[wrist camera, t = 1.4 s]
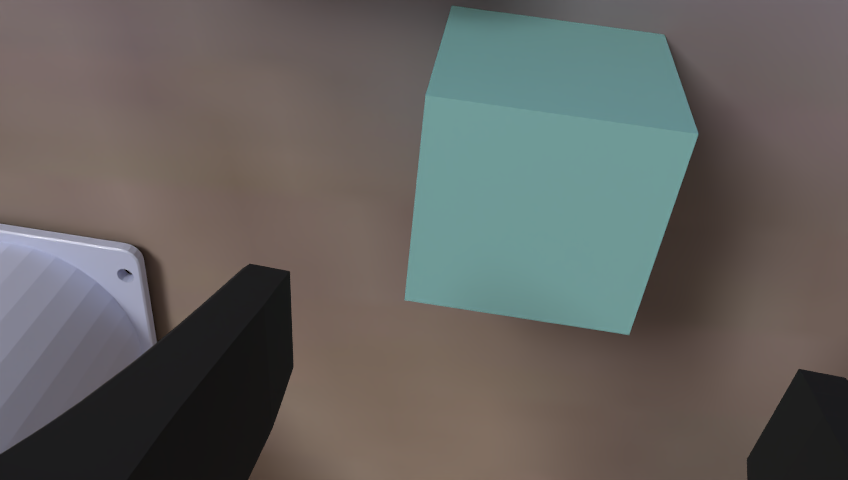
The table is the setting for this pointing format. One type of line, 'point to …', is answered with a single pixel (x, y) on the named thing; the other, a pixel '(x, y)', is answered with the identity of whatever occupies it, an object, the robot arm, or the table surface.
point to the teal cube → (546, 169)
